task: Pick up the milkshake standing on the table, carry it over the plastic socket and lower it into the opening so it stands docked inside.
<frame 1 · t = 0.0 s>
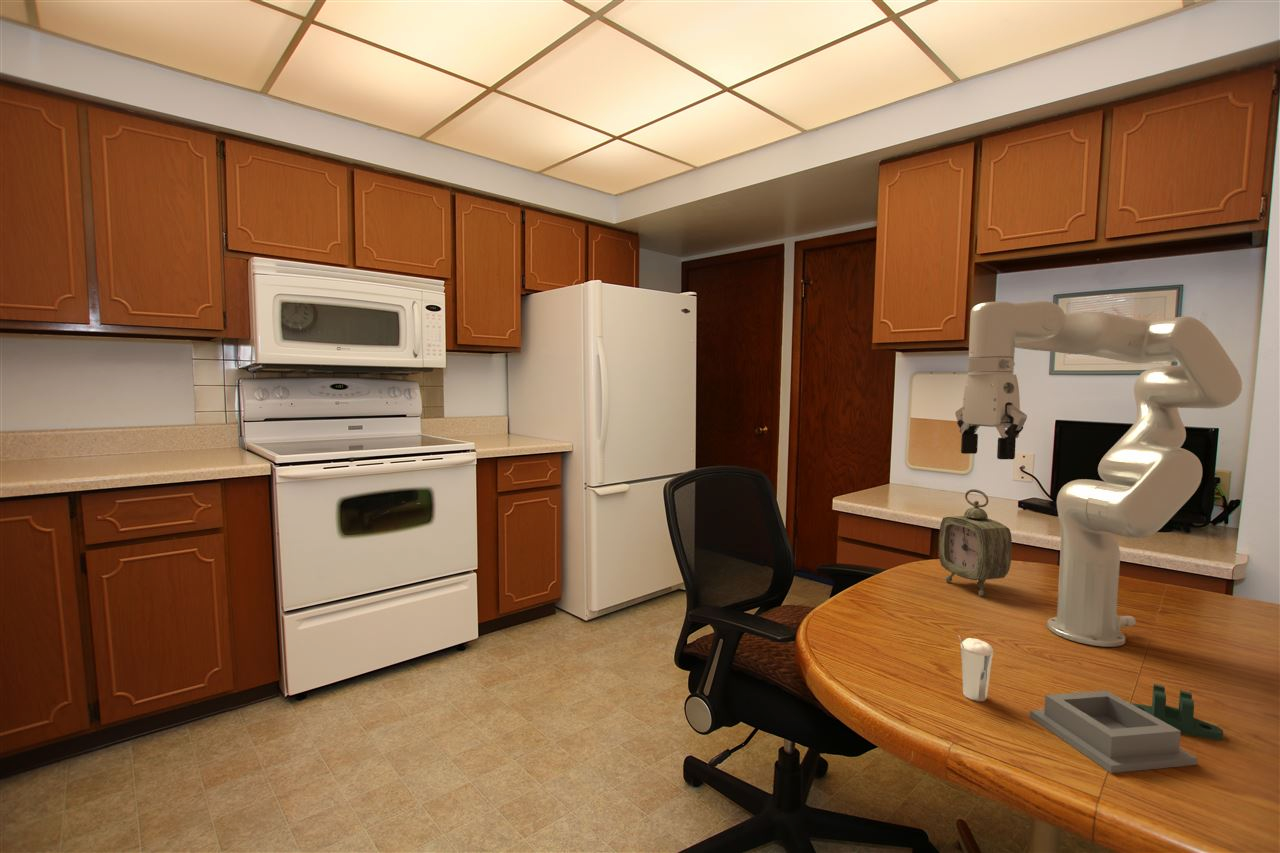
hand: (986, 456, 112), 37 cm above the table, tool pointing down, fingers open, 9 cm apart
milkshake: (972, 697, 93), on the table
socket: (1107, 739, 82), on the table
tabletop clock: (973, 589, 145), on the table
mount: (1170, 726, 86), on the table
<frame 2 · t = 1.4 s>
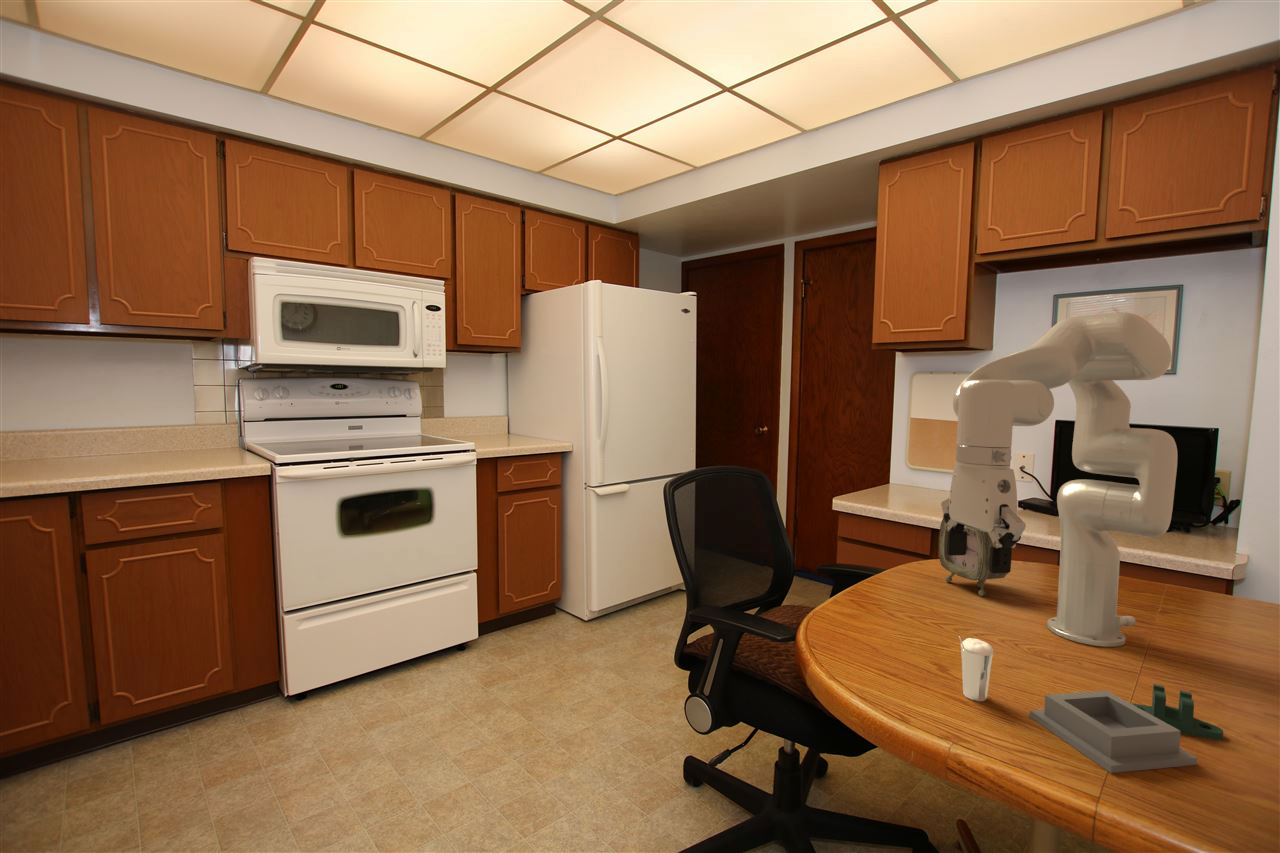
hand: (976, 563, 93), 22 cm above the table, tool pointing down, fingers open, 9 cm apart
nothing on the table moved.
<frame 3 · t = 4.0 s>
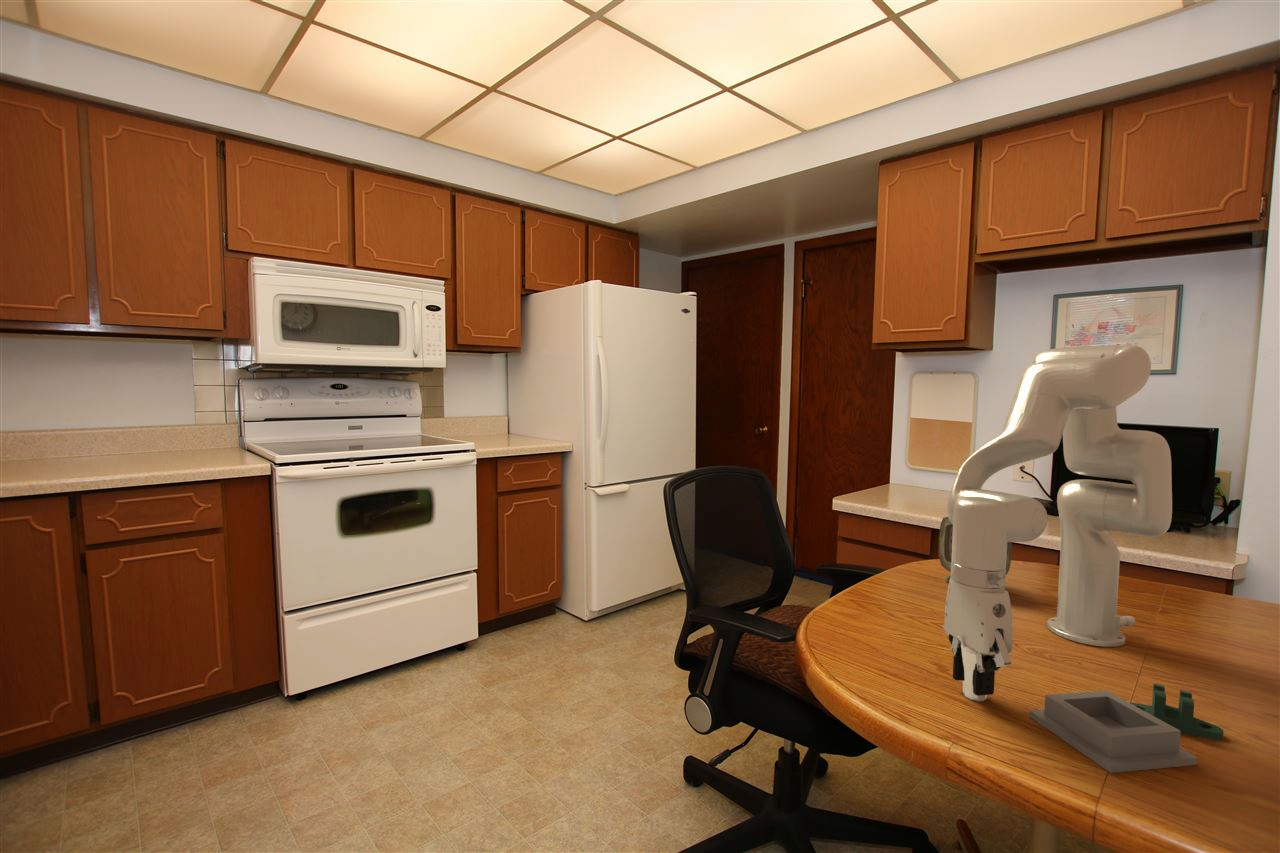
hand: (972, 685, 93), 2 cm above the table, tool pointing down, fingers closed on milkshake, 4 cm apart
milkshake: (972, 697, 93), on the table, touching gripper
everything else where it was.
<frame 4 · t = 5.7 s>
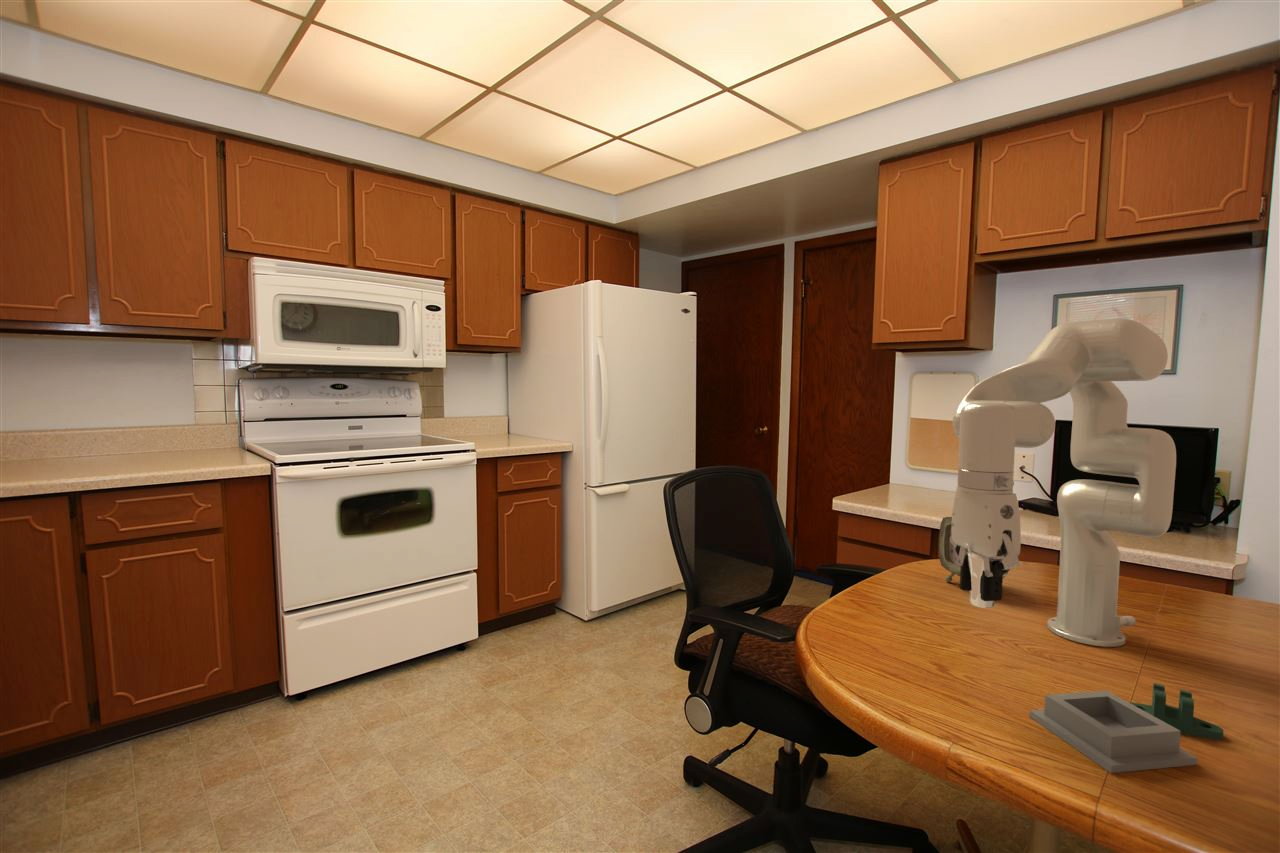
hand: (980, 593, 92), 17 cm above the table, tool pointing down, fingers closed on milkshake, 4 cm apart
milkshake: (979, 605, 92), point 15 cm above the table, touching gripper
everything else where it was.
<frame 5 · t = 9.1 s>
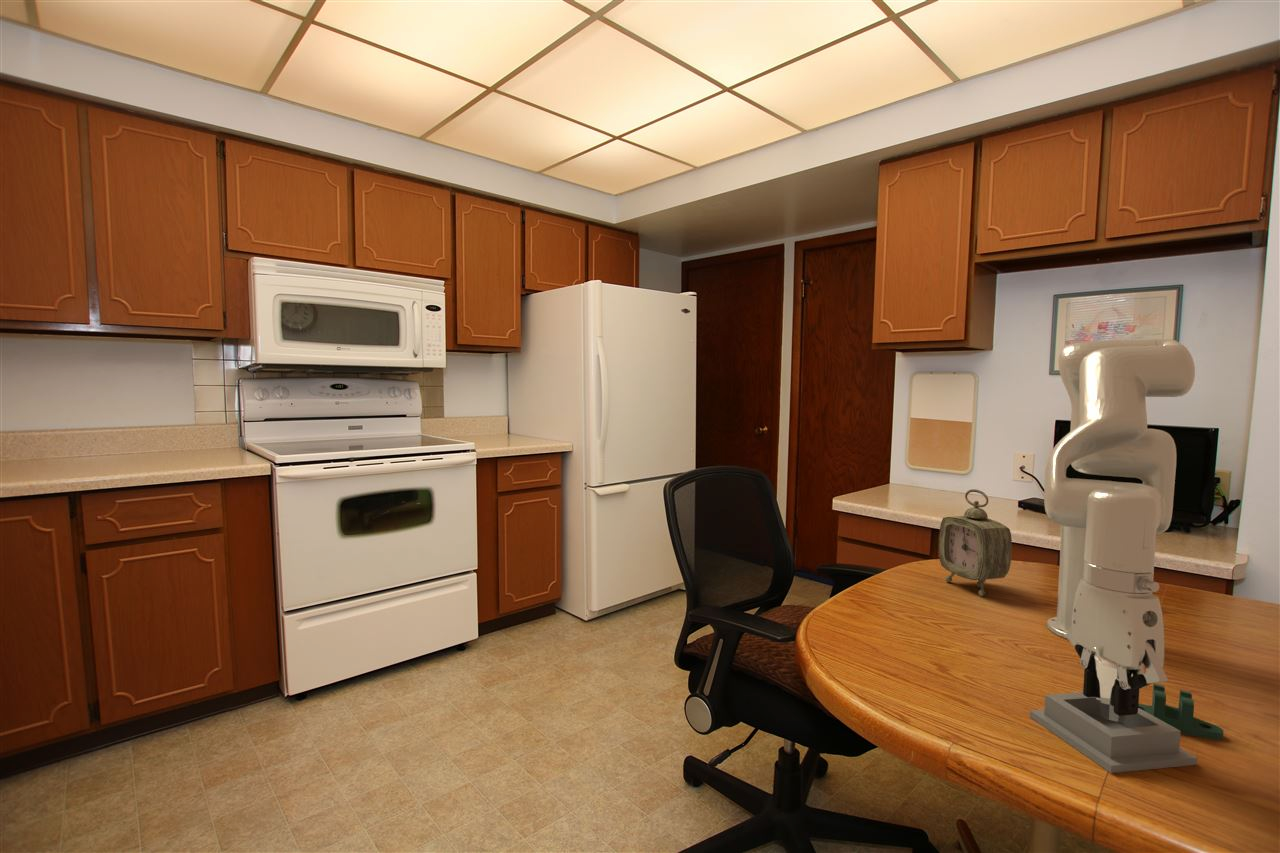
hand: (1109, 703, 82), 5 cm above the table, tool pointing down, fingers closed on milkshake, 4 cm apart
milkshake: (1108, 717, 82), point 3 cm above the table, touching gripper
everything else where it was.
when the fingers open (5 cm above the table, at t = 9.3 s): milkshake drops 2 cm, resting on socket.
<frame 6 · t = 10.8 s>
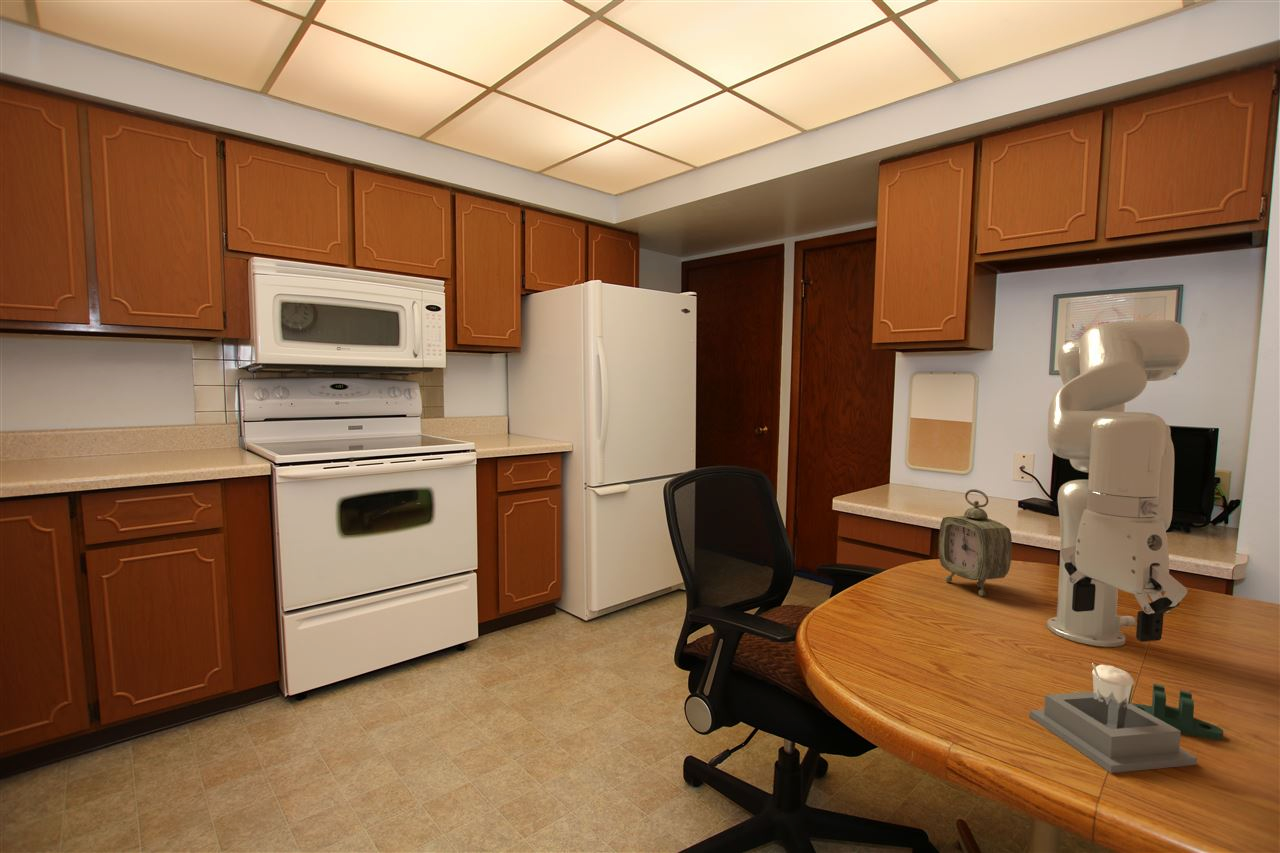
hand: (1113, 624, 81), 16 cm above the table, tool pointing down, fingers open, 9 cm apart
milkshake: (1106, 732, 82), point 1 cm above the table, touching socket
everything else where it was.
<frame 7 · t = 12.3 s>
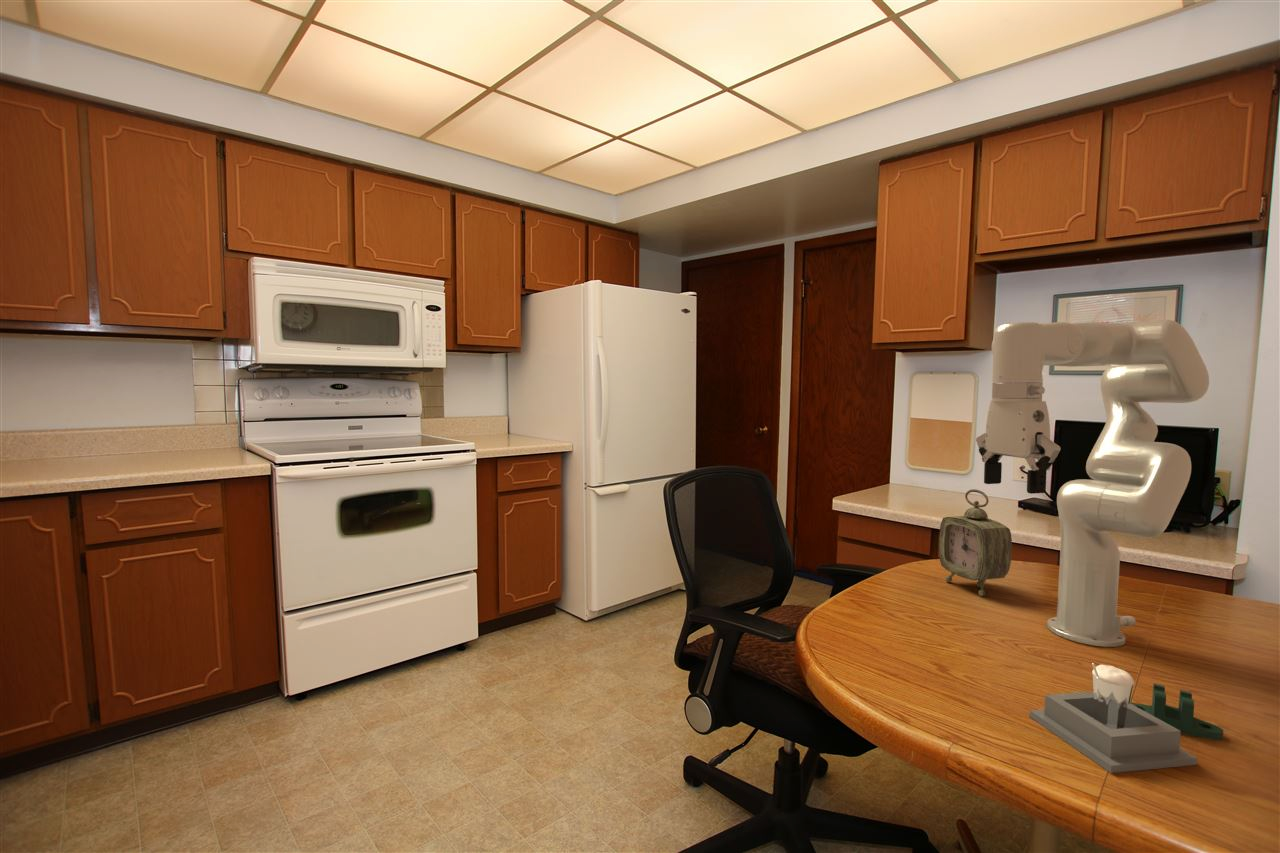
hand: (1013, 488, 104), 32 cm above the table, tool pointing down, fingers open, 9 cm apart
nothing on the table moved.
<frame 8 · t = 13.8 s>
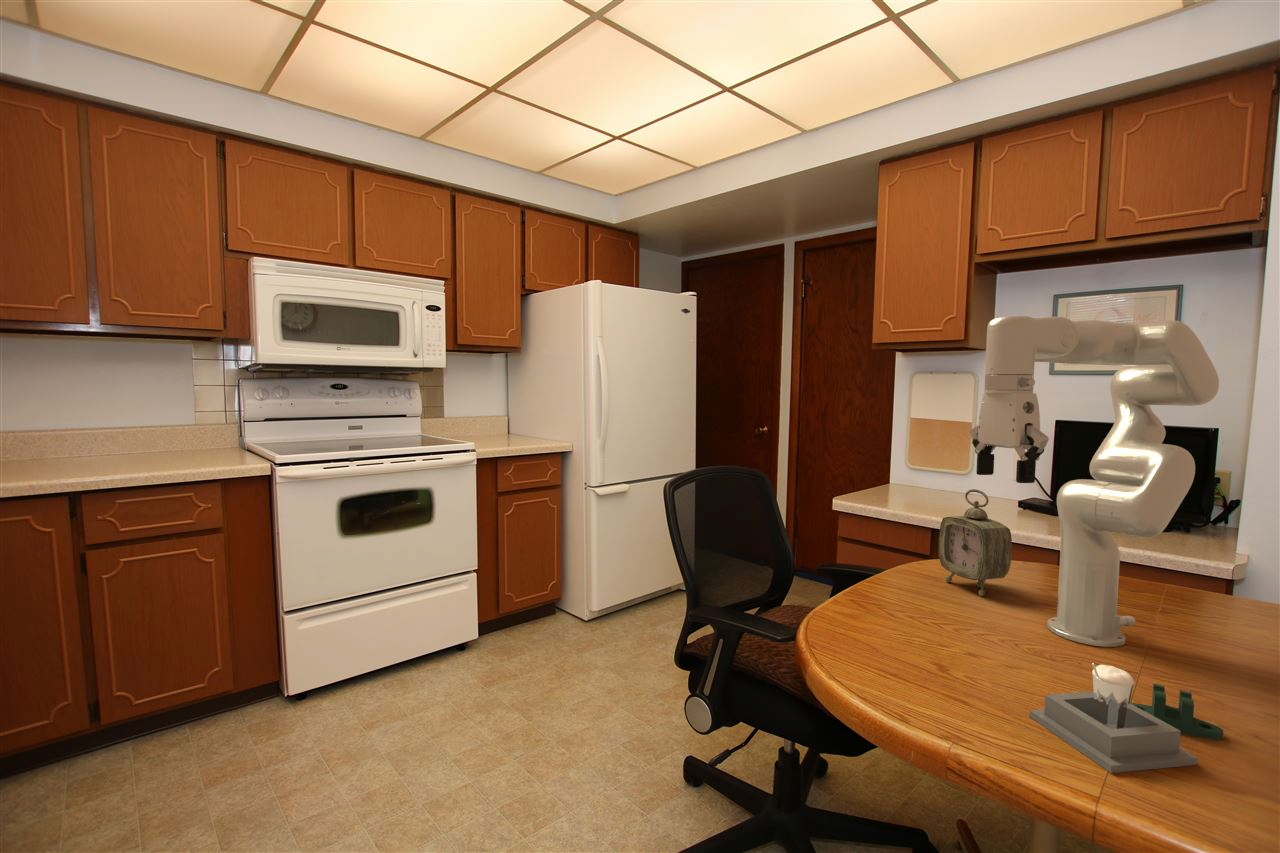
hand: (1004, 478, 106), 33 cm above the table, tool pointing down, fingers open, 9 cm apart
nothing on the table moved.
at the end: milkshake 0.3 cm off-centre on the socket, point 0.8 cm above the socket's base; milkshake tilted 0°; the gripper is holding nothing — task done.
